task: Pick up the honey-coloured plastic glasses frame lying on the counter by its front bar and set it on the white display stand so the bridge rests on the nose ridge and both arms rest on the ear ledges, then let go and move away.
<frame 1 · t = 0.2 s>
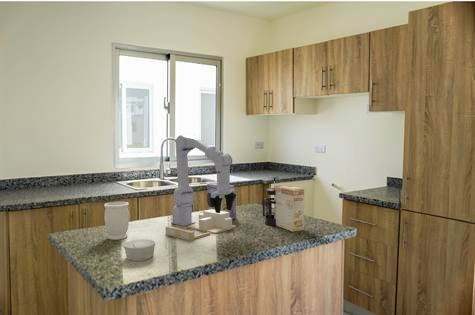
hand: (223, 211, 176), 10 cm above the counter, tool pointing down, fingers open, 7 cm apart
ramekin: (140, 257, 145), on the counter
cake pan box: (221, 217, 209), on the counter
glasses: (179, 237, 171), on the counter
coffeecake box: (288, 227, 186), on the counter, touching french press
french press: (273, 223, 194), on the counter, touching coffeecake box
jar: (117, 237, 171), on the counter
stand: (203, 229, 182), on the counter
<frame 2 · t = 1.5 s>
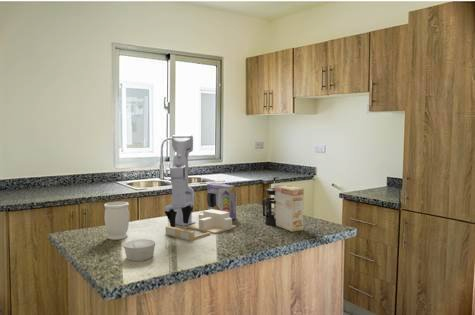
hand: (179, 225, 170), 5 cm above the counter, tool pointing down, fingers open, 7 cm apart
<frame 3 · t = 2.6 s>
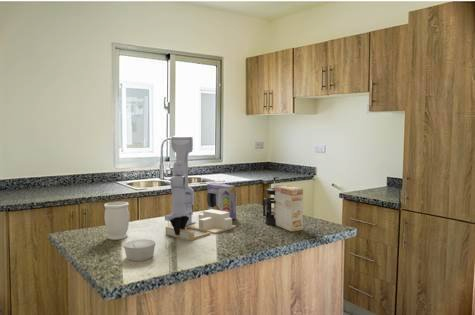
hand: (179, 233, 170), 1 cm above the counter, tool pointing down, fingers closed on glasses, 2 cm apart
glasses: (179, 237, 171), on the counter, touching gripper
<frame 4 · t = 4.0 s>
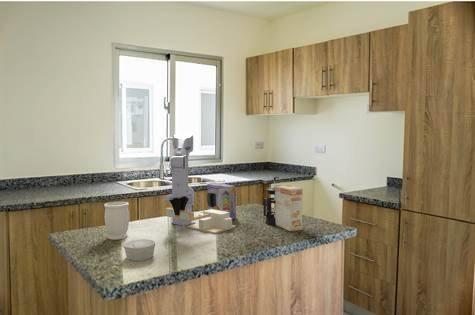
hand: (179, 214, 170), 10 cm above the counter, tool pointing down, fingers closed on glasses
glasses: (179, 218, 170), point 8 cm above the counter, touching gripper
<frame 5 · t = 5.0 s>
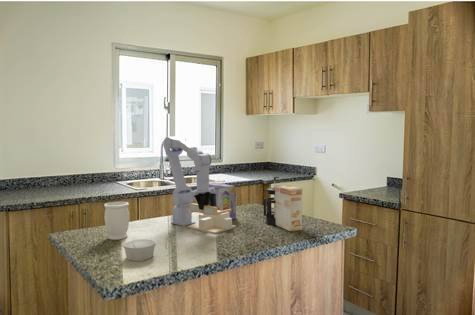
hand: (203, 209, 181), 10 cm above the counter, tool pointing down, fingers closed on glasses
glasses: (203, 212, 182), point 8 cm above the counter, touching gripper
french press: (274, 223, 195), on the counter, touching coffeecake box
everything else where it was.
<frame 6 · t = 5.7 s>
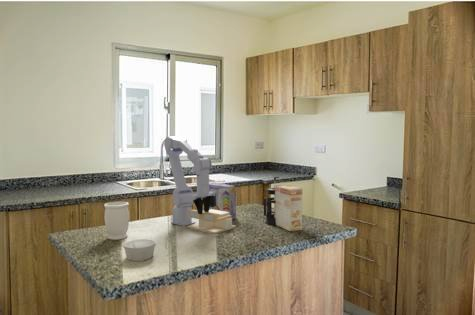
hand: (203, 213, 182), 8 cm above the counter, tool pointing down, fingers open, 4 cm apart
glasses: (203, 219, 182), point 5 cm above the counter, touching stand
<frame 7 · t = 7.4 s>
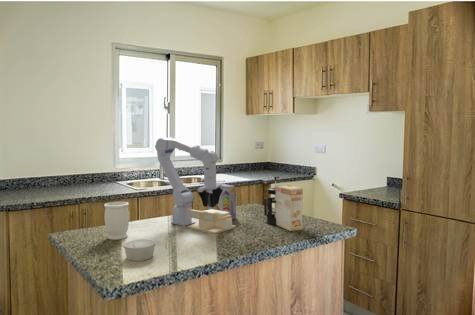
hand: (210, 205, 188), 10 cm above the counter, tool pointing down, fingers open, 7 cm apart
french press: (274, 222, 195), on the counter, touching coffeecake box
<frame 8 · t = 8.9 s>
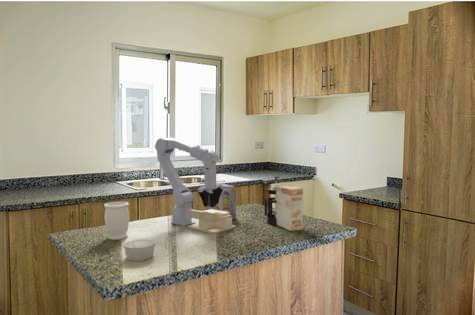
hand: (211, 205, 188), 10 cm above the counter, tool pointing down, fingers open, 7 cm apart
french press: (275, 222, 195), on the counter, touching coffeecake box
at the end: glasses 0.0 cm off-centre on the stand, point 5.0 cm above the stand's base; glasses tilted 0°; the gripper is holding nothing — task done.
